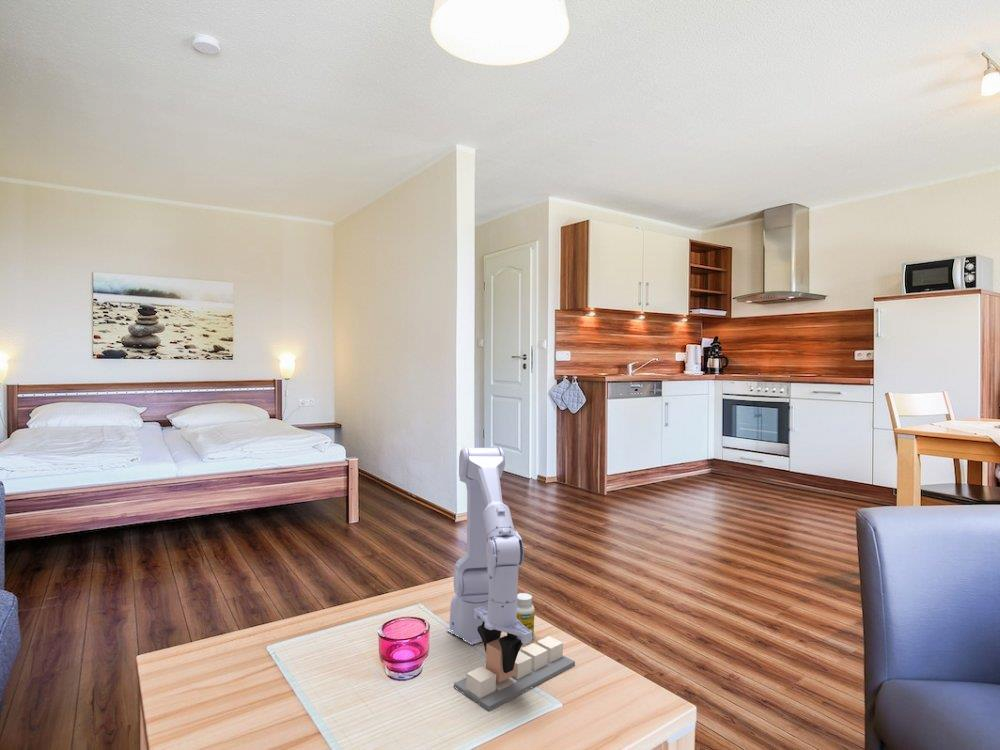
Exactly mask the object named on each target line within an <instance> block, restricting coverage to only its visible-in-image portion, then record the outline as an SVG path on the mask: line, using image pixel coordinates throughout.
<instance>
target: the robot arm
mask: <svg viewBox="0 0 1000 750" xmlns="http://www.w3.org/2000/svg"><path fill="white" fill-rule="evenodd" d="M505 465H506V456H505V452H504V449H502V448H501V447H500V446H499V447H498V446H497V447H467V446H463V447H462V448H461V450H460V451H459V457H458V477H459V481H460V482H461V483H464V484H465V486H466V494H467V495H466V497H467V498H466V553H465V554H464V555H463V556H461V557H460V558H459V559H458V560H457V561H456V562H455V564H454V573H453V590H454V595H453V596H452V599H451V600H450V611H449V627H448V628H446V631H447V630H449V629H450V630H449V631H451V630H453V631H451V632H452V633H454V634H456V635H458V636H459V637H461V638H464V640H466V641H468V642H469V643H471V644H475V645H477V644H479V643H481V642H482V644H483V647H484V653H486V646H487V643H489V642H492V641H494V640H496V639H499V642H500V645H501V649H502V655H503V671H504V673H508V672H510V671H512V670H513V668H514V664H515V661H516V658H517V655H518V652H519V651H521V649H522V646H523V645H526V644H530V643H531V642H533V639H532V631H530V630H529V629H527V628H526V627H525V626H524V625H523V624H522V623H521V622H520V621H519V620H518V619H517V594H518V588H519V586H518V584H519V567H520V566H521V565H522V564H523V562H524V557H525V556H524V554H525V553H524V552H525V550H524V543H523V539H522V537H521V535H520V534H519V532H518V530H515V527H514V526H515V525H514V522H513V518H512V515H511V510H510V507H509V506H508V505H507V504H505V503H504V501H503V494H502V488H501V480H500V478H502V475H503V472H504V470H505V467H506V466H505ZM502 632H503V633H506V635H505V636H504V635H503V636H501V635H502ZM452 633H451V634H452ZM459 637H458V638H459ZM464 640H463V641H464ZM466 641H465V642H466ZM469 643H468V644H469ZM471 644H470V645H471Z"/></svg>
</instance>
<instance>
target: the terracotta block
mask: <svg viewBox="0 0 1000 750" xmlns="http://www.w3.org/2000/svg"><path fill="white" fill-rule="evenodd" d="M485 668H486V669H487V670H489V671H491V672H492V673H494V674H496V681H498V682H499V683H500V682H502V681H504V680H506V679H508V678H510V677H512V676H514V668H513V670H512V671H510V672H508V673H504V671H503V655H502V649H501V645H500V642H499V639H496V640H494V641H492V642H489V643H487V646H486V652H485Z"/></svg>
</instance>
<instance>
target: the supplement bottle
mask: <svg viewBox="0 0 1000 750" xmlns="http://www.w3.org/2000/svg"><path fill="white" fill-rule="evenodd" d="M532 603H533V596H532V595H531V594H529V593H525V592H519V593H517V619H518V620H519V621H520V622H521V623H522V624H523V625H524V626H525V627H526V628H527V629H529V630H530V631H532V640H533V639H534V636H535V635H534V632H535V612H536V611H535V609H536V608H535V606H534V605H533V604H532Z"/></svg>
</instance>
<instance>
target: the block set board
mask: <svg viewBox="0 0 1000 750" xmlns="http://www.w3.org/2000/svg"><path fill="white" fill-rule="evenodd" d="M575 665H576V661H575V660H573V659H571V658H569V657H567V656H566V655H564V642H562V641H560V640H559V639H556V638H554V637H552V636H550V635H548V636H545V637H544V638H541V639H539V640H537V641H536V642H533V643H529V644H528V645H526V646H524V647H521V648H520V650H519V652H518V655H517V658H516V661H515V664H514V676H512V677H510V678H508V679H506V680H504V681H502V682H500V683H499V682H498V681H496V674H494V673H492V672H491V671H489V670H487V669H486V667H484V666H479V667H478V668H475V669H473V670H471V671H469V672H467V673H466V677H464V678H463V679H461V680H458V681H456V682H454V683H453V688H454V687H456V688H457V689H458V690H457V689H456V688H455V689H456V690H457V691H458V692H460V691H461V692H463V693H464V694H465V695H464V694H463V693H462V694H463V695H464V696H466V695H467V696H468V697H467V696H466V697H467V698H469V697H470V698H471V699H470V698H469V699H470V700H472V699H473V700H474V702H475V701H476V702H477V703H476V702H475V703H476V704H478V703H479V704H480V705H479V704H478V705H479V706H480V707H482V706H483V707H482V708H483V709H484V710H486V711H488V712H490V711H492V710H493V708H494V709H495V707H496V708H498V707H499V706H501V705H503V704H505V703H507V702H509V701H510V700H512V699H514V698H516V697H518V696H519V695H522V694H523V692H524V693H526V692H527V691H529V690H531V689H532V688H531V687H533V688H535V687H537V686H539V685H540V684H543V683H545V682H547V681H548V680H550V679H552V678H553V677H555V676H558V675H559V674H561V673H563V672H565V671H567V670H569V669H570V668H573V667H575ZM534 686H535V687H534ZM530 688H531V689H530ZM528 689H529V690H528ZM526 690H527V691H526ZM525 691H526V692H525ZM461 692H460V693H461ZM473 700H472V701H473Z"/></svg>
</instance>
